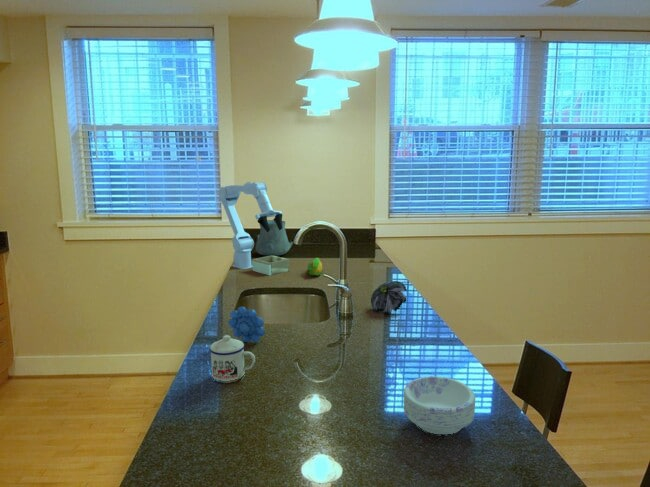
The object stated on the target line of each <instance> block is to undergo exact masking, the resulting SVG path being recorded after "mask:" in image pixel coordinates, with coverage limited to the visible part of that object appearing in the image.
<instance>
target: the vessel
mask: <svg viewBox="0 0 650 487" xmlns="http://www.w3.org/2000/svg"><path fill="white" fill-rule="evenodd" d="M267 222H268V225H269V228H270V231H269V232H266V230H265V229H264V227H263V226H262V225H261V224H259V227H260V232H259V234H258V235H257V236H256V237H257V238H256V239H257V241H256V243H255V251H256V252H257V253H258V254H259V255H261V256H277V257H280V256H283V255H285V254H287V253H288V252H289V250H290V249H291V247H292V246H293V241H289V239H288V236H287V232H286V221H284V220H282V227H283V229H281V230H279V229H278V226H277V224H276V223H275V221H274V220H273V219H267Z"/></svg>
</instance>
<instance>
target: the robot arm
mask: <svg viewBox="0 0 650 487" xmlns="http://www.w3.org/2000/svg"><path fill="white" fill-rule="evenodd" d="M267 190H268V188H267V185H266V184H265V183H264V182H262V181H261V182H256V181H253V182H251V181H247V182H245V183H244V184H233V185H226V186H220V188H219V190H218V197H219V199H220V202H221V205H222V206H223V208H224V212H225V214H226V216H227V218H228V222H229V224H230V226H231V229H232V231H233V234H234V235H233V237H232V238H231V242H232V247H233V249H234V252H233V266H232V267H233V268H236V269H237V268H238V269H240V270H244V269H249V268H253V265H252V253H251V251H252V250H253V249H254V246H255V242H254V239H253V238H252V237H251V235H250V234H249V233H248V232H246V231H245V229H244V227H243V224H242V222H241V219H240V217H239V215H238V212H237V209H236V207H235V205H236V204H237V202H238V200H239V197H240V195H241V192H243V194H245V195H252V196H253V197H254V199H255V200H256V202H257V205H258V208H259V209H260V213H257V214H256V215H255V216H254V217H255V219H256V221H257V223H259V225H260V224H261V225H262V226H263V227H264V229H265V230H266V232H269V231H270V228H269V225H268V222H267V220H268V218H273V217H274V218H273V219H272V220H274V221H275V223H276V224H277V226H278V229H279V230H281V229H283V227H282V221H283V212H282V211H281V210H274V208H273V206H272V204H271V201H270V199H269V196H268V193H267Z"/></svg>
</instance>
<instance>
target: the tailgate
mask: <svg viewBox="0 0 650 487" xmlns="http://www.w3.org/2000/svg"><path fill="white" fill-rule="evenodd" d="M251 264H252V266H253V267H252V271H253V272H256V273H259V274H263V275H267V276H272V275H271V263H269V262H265V261H261V260H257V259H256V258H251Z"/></svg>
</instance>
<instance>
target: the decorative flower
mask: <svg viewBox="0 0 650 487" xmlns="http://www.w3.org/2000/svg"><path fill="white" fill-rule="evenodd" d="M407 291H408V290H407V287H406V285H405V284H404V283H403V282H401V281H397V280H392V281H387V282H384V283H381V284H380V285H379V286H378V287H377V288H376V289H375V290H374V291H373V293H372V294H371V297H370V304H371V305H370V306H371V308H372V311H373V312H375V313H383V314H384V316H390V315H391V314H392V311H394V312H397V310H400V308H401V307H402V304H404V303H406V302H407V296H406V295H405V294H404V293H403V292H407Z"/></svg>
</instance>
